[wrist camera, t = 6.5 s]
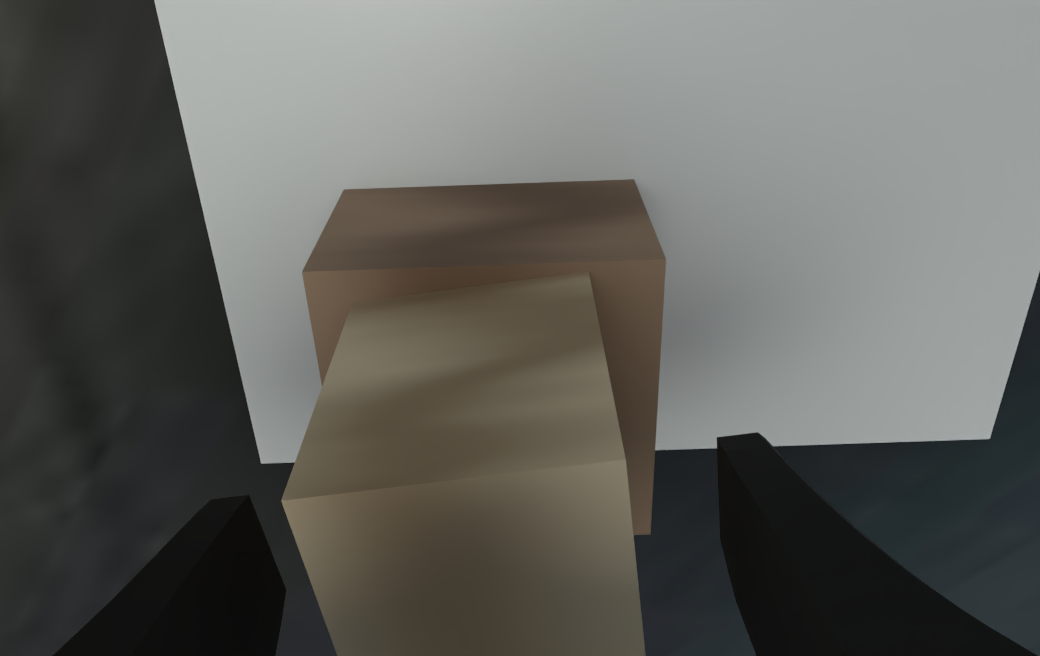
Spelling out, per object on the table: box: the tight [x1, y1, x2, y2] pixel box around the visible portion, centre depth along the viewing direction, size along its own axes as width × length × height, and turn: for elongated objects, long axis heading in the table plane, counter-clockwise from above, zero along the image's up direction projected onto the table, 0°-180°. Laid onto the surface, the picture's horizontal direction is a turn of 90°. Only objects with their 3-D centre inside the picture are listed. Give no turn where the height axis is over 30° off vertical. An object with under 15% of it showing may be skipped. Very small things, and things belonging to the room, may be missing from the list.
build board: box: [154, 0, 1040, 464], centre depth 17 cm, size 18×16×1 cm
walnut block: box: [302, 179, 666, 535], centre depth 17 cm, size 6×6×4 cm
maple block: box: [281, 271, 645, 656], centre depth 13 cm, size 4×4×5 cm
